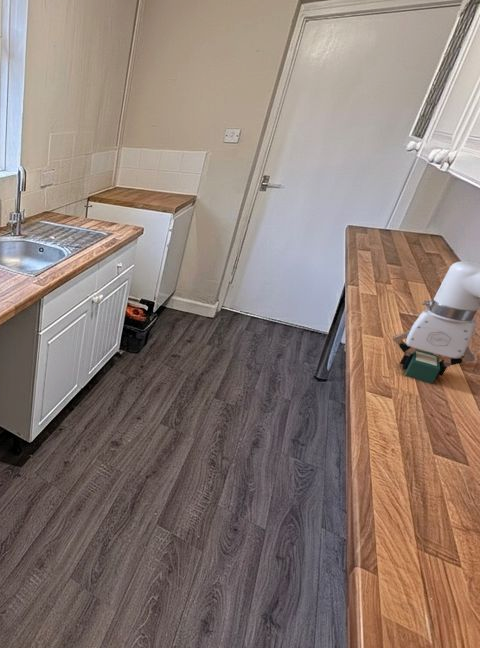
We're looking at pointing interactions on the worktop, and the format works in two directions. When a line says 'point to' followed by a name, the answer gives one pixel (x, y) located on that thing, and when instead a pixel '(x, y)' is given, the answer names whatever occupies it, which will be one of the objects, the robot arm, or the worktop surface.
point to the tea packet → (423, 366)
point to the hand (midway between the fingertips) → (419, 371)
